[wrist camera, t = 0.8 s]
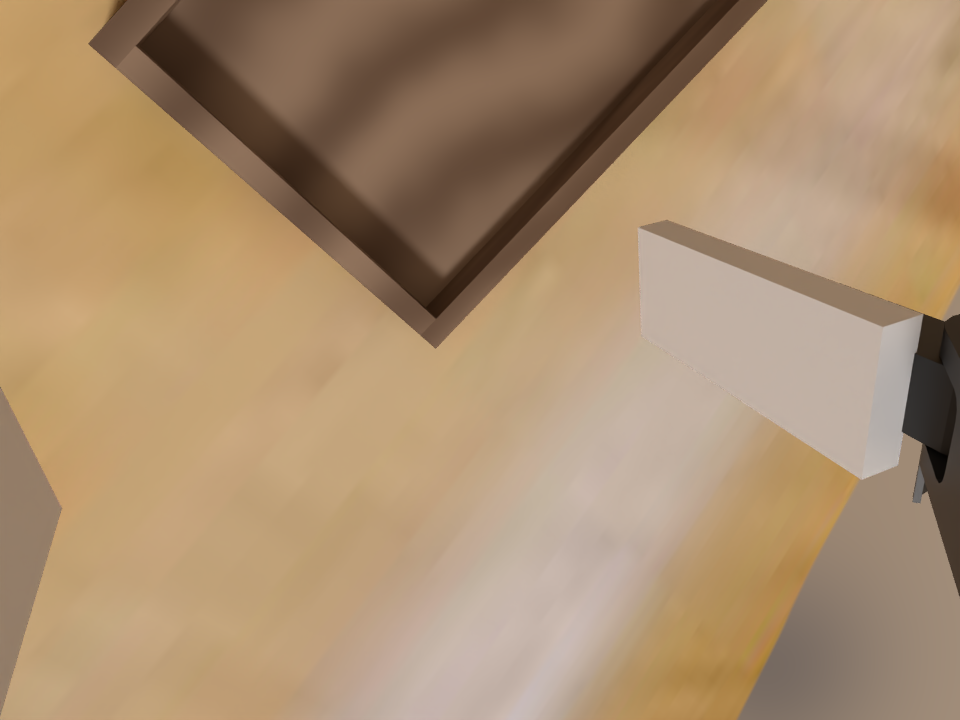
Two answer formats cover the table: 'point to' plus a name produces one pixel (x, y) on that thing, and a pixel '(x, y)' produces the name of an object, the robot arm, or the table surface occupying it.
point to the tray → (419, 117)
